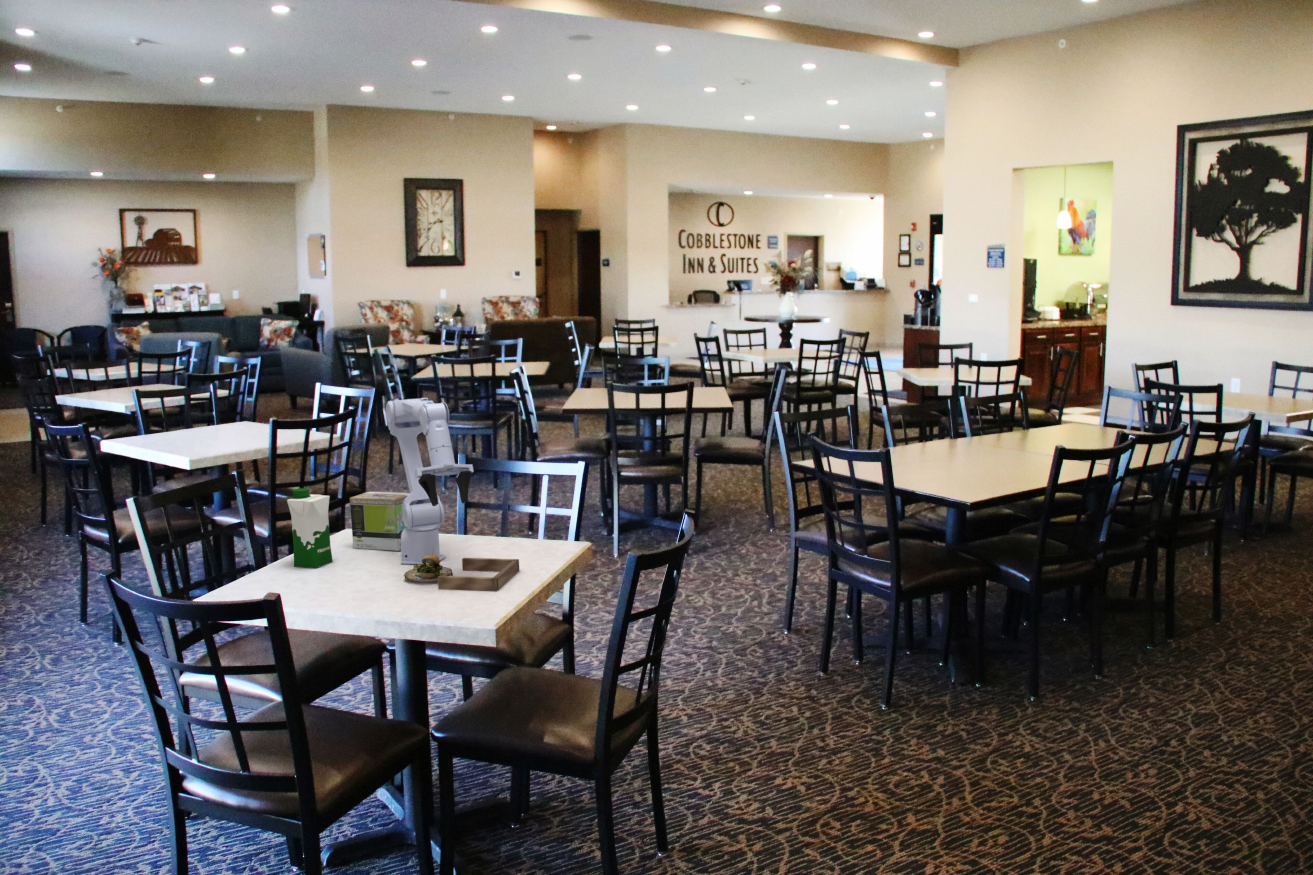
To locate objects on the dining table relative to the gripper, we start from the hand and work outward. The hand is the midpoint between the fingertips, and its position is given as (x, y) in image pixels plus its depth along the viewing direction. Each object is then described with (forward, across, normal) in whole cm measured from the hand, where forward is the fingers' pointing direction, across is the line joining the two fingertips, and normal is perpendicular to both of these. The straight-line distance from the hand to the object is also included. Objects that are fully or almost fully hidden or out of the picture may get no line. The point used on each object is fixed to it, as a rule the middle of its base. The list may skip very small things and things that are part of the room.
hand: (450, 503), depth 250 cm
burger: (+15, -2, +16) cm, 22 cm away
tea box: (-1, +1, +50) cm, 51 cm away
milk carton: (+2, -21, +46) cm, 50 cm away
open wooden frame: (+18, +7, +7) cm, 21 cm away
